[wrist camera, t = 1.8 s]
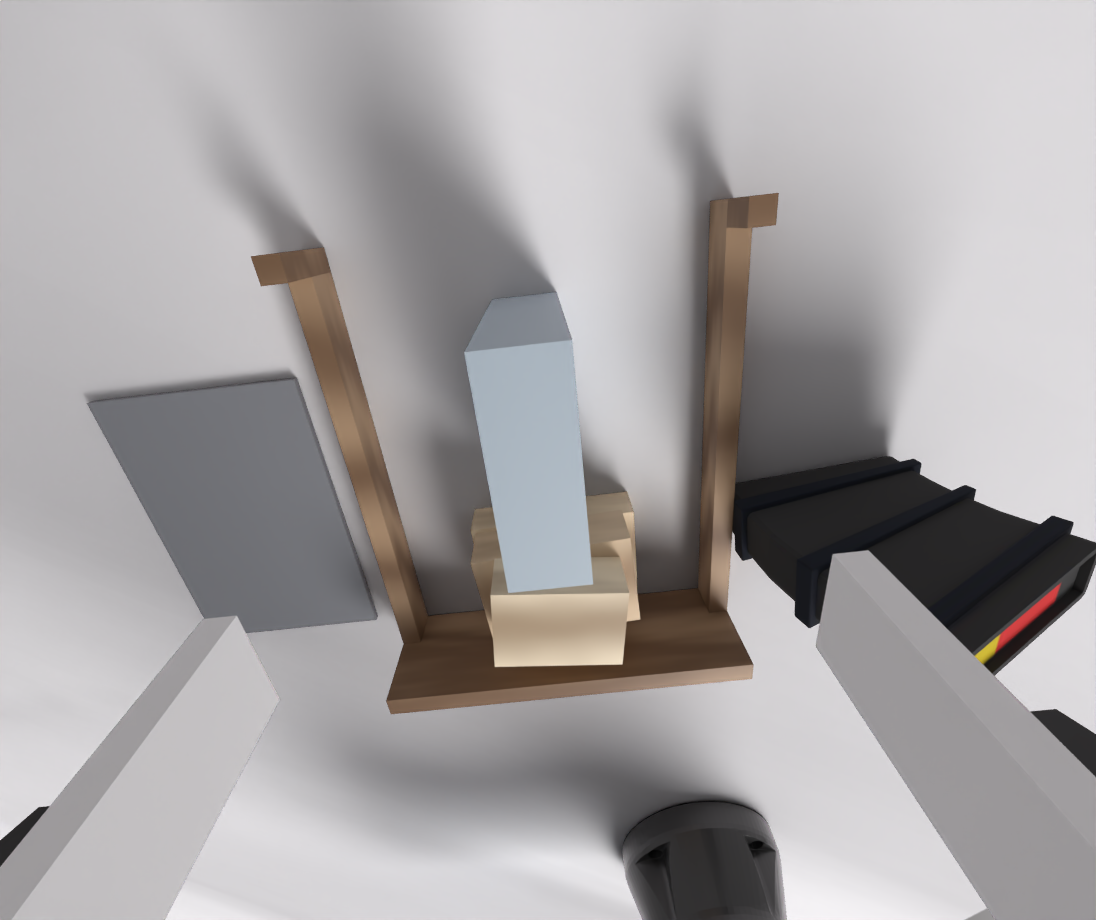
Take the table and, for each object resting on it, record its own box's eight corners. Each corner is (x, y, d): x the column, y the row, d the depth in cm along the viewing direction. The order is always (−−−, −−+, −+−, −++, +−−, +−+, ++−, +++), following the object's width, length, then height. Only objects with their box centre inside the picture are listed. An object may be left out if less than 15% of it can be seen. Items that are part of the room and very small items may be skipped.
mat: (377, 615, 36) (376, 619, 36) (217, 632, 36) (213, 636, 36) (296, 377, 28) (293, 379, 28) (92, 400, 29) (87, 403, 28)
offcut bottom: (629, 560, 35) (637, 589, 33) (490, 576, 35) (487, 605, 33) (625, 487, 33) (633, 511, 30) (475, 505, 33) (470, 530, 30)
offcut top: (614, 624, 30) (622, 664, 27) (498, 626, 30) (494, 666, 27) (620, 556, 28) (629, 593, 25) (494, 558, 27) (490, 595, 25)
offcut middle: (631, 586, 32) (640, 619, 30) (497, 607, 33) (494, 641, 30) (621, 509, 30) (630, 538, 27) (475, 533, 30) (470, 563, 28)
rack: (714, 599, 36) (751, 678, 30) (415, 629, 37) (391, 714, 30) (734, 197, 25) (802, 189, 19) (300, 250, 25) (223, 259, 19)
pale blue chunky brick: (572, 457, 31) (593, 584, 20) (517, 463, 31) (508, 593, 20) (556, 291, 27) (572, 339, 16) (492, 299, 27) (464, 352, 16)
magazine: (679, 501, 30) (958, 659, 18) (824, 430, 35) (1128, 516, 22) (683, 550, 32) (942, 726, 20) (821, 476, 37) (1104, 581, 24)
